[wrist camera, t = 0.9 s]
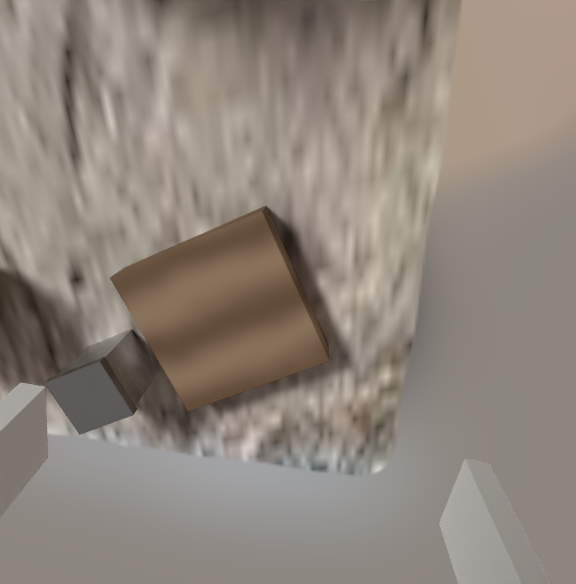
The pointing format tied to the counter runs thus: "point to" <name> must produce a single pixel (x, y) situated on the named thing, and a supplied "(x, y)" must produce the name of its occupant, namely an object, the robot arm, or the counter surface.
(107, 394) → the metal tin
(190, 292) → the brown curved panel
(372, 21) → the counter surface
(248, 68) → the counter surface
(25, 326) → the counter surface
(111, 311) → the counter surface
